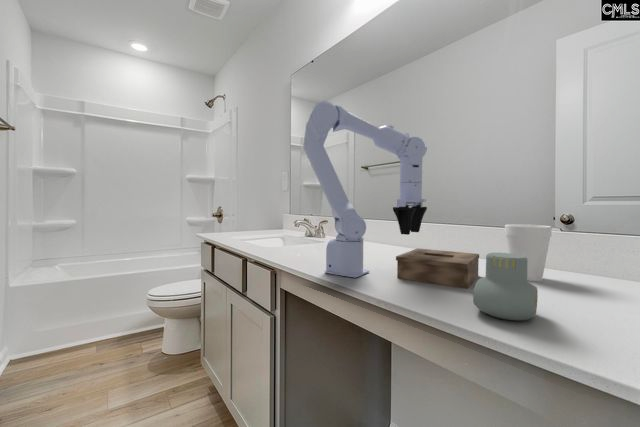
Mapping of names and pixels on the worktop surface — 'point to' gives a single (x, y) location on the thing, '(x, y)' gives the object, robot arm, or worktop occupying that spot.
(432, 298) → the worktop surface
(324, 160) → the robot arm
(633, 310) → the worktop surface
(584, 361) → the worktop surface
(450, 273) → the money box
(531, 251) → the foam cup
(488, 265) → the air freshener
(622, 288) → the worktop surface
